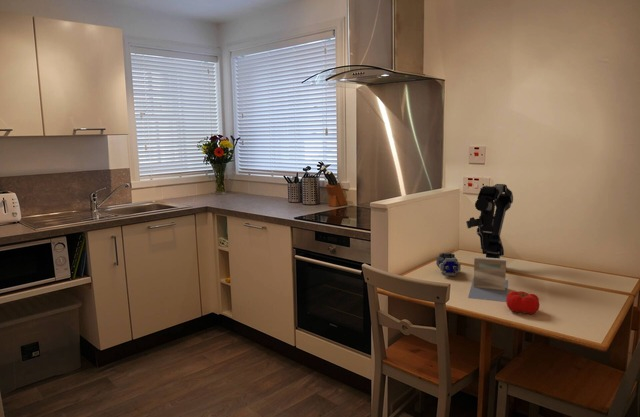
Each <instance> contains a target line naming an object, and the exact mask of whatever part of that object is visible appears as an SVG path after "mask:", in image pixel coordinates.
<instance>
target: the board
mask: <svg viewBox="0 0 640 417" xmlns="http://www.w3.org/2000/svg"><path fill="white" fill-rule="evenodd" d="M473 258H474V262H473V263H474V264H473V265H474V266H473V278H474V287H479V288H489V289H499V290H505V280H506V278H507V277H506V276H507V271H506V270H507V258H500V259H498V258H486V257H484V256H483V257H481V256H475V257H473Z"/></svg>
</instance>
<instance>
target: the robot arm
mask: <svg viewBox="0 0 640 417" xmlns="http://www.w3.org/2000/svg"><path fill="white" fill-rule="evenodd" d="M513 202H514V195H513V191H512V190H511V189H509V188H508V185H507V184H504V183H496V184H494V185H490V186H489V185H482V187H481V188H480V190H479V192H478V196H477V200H476V201H475V203H474V206H475V209H476V210H477V211H479V212H480V213H479V214H480V215H479V217H478V218H475V217H470V218H469V220H467V221H465V222H466V228H467V229H471V228H474V227H477V228H476V235H477V236H479V239H480V240H479V241H480V249H481V250H482V251H481V252H482V254H483V255H484V254H485V258H498V259H501V257H502V256H504V255H505V249H504V245H503V242H502V239H501V233H502V228H503V224H504V220H505V216H506V212H507V211H508V210H510V208H511V206H512V204H513Z"/></svg>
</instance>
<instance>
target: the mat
mask: <svg viewBox="0 0 640 417" xmlns="http://www.w3.org/2000/svg"><path fill="white" fill-rule="evenodd" d="M471 282H472V283H471V285H470V289H469V293H468V297H467V298H468V299H474V300H475V299H476V300H484V301H493V302H502V303H506V298H507V296H508V294H509V292H508V291H509V280H506V279H505V290H499V289H489V288H479V287H474V277H473V278H472V281H471Z"/></svg>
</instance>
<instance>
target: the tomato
mask: <svg viewBox="0 0 640 417" xmlns="http://www.w3.org/2000/svg"><path fill="white" fill-rule="evenodd" d="M505 303H506V305H507V307H508V310H509V311H512V312H514V313H524V314H527V315H529V314H532V315H533V314H535V313H537V312H538V311H539V309H540V299H539V297H538V295H537V294H535V293H529V292H525V291H523V290H522V291H521V290H519V291H516V290H512V291H510V292H508V295H507V298H506V302H505Z"/></svg>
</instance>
